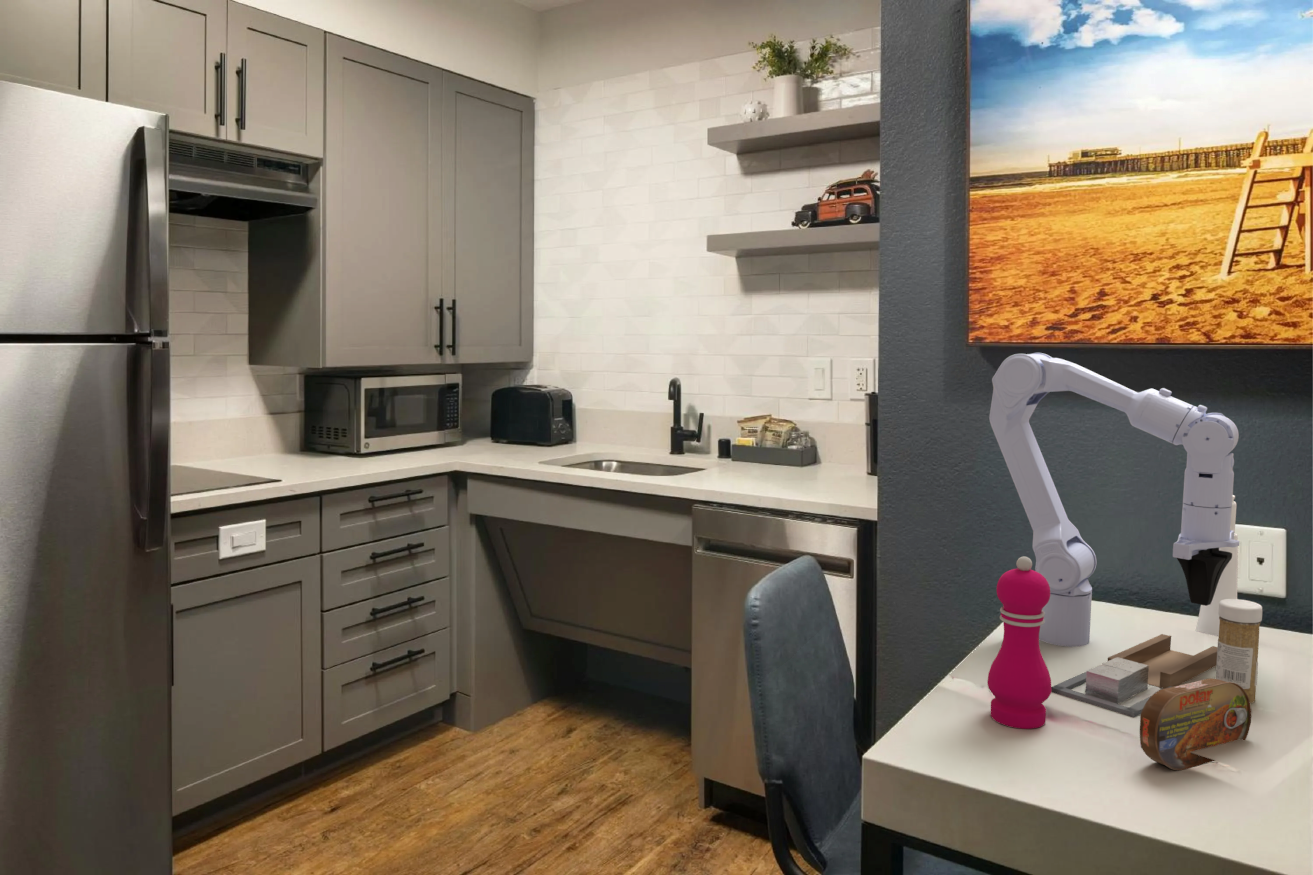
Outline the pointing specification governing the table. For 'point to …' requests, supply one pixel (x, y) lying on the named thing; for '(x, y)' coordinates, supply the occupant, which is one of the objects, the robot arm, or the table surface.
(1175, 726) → the tin
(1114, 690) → the light grey cube
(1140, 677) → the grey cube
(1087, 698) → the tray
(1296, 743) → the table surface
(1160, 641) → the slot board
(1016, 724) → the pepper mill
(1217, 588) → the cosmetic bottle
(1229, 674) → the sprinkles bottle
